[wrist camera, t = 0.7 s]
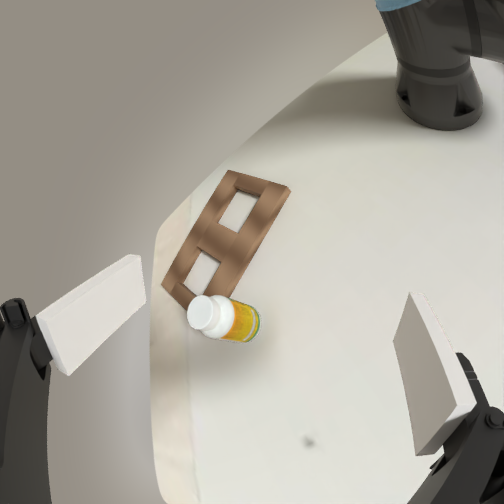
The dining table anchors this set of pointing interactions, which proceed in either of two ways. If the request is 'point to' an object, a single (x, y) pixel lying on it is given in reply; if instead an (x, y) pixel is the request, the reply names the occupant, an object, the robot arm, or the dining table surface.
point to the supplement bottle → (224, 318)
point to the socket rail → (226, 236)
